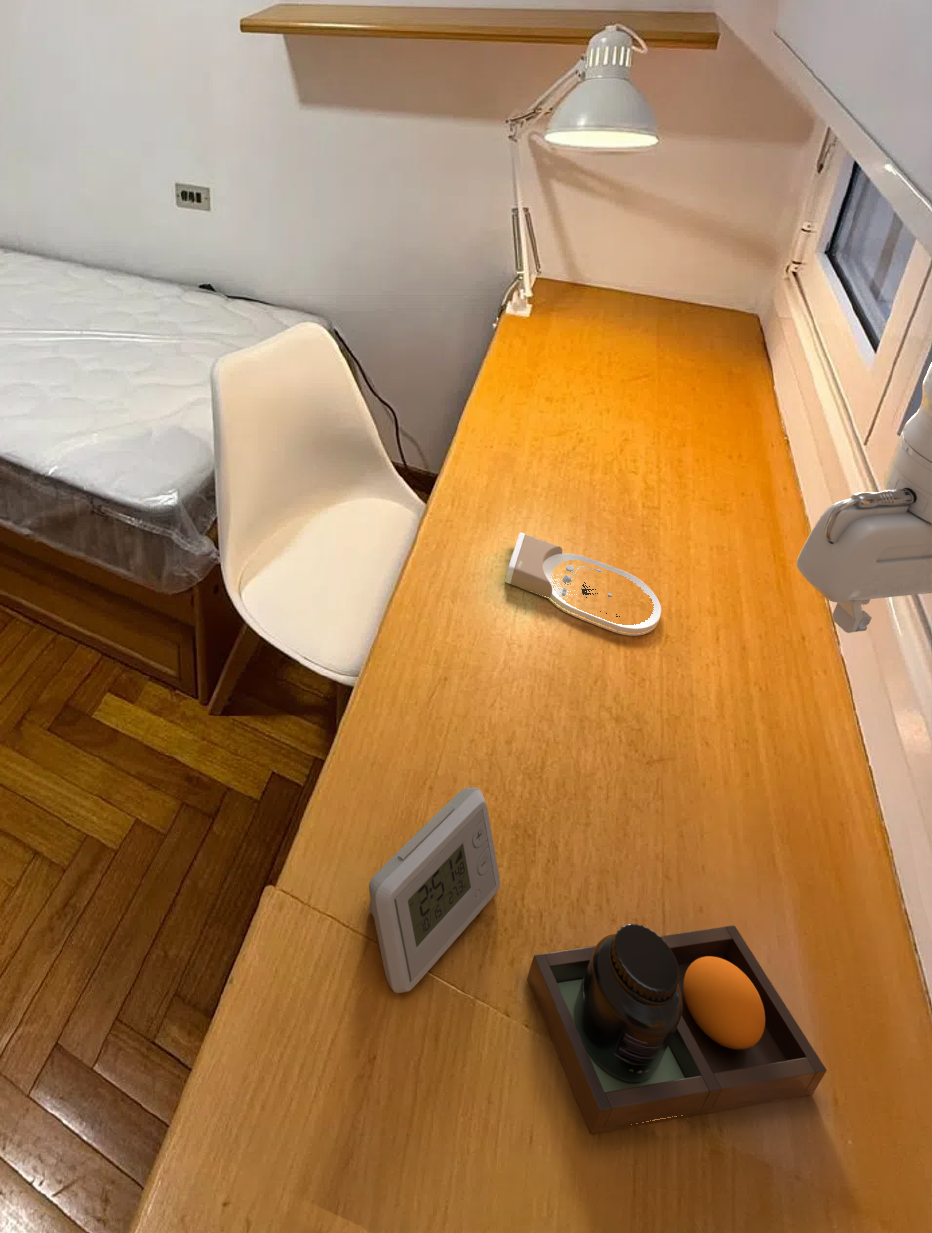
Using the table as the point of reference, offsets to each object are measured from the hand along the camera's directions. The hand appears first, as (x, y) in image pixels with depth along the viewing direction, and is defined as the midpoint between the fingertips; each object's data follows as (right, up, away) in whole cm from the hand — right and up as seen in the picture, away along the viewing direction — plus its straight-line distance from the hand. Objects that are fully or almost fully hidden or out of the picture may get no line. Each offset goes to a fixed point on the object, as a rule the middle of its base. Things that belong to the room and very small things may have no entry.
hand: (898, 620), depth 68 cm
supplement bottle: (-22, -38, +3) cm, 44 cm away
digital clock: (-35, -35, +12) cm, 51 cm away
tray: (-17, -38, +4) cm, 42 cm away
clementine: (-12, -35, +3) cm, 37 cm away
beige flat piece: (-2, -19, +51) cm, 55 cm away
